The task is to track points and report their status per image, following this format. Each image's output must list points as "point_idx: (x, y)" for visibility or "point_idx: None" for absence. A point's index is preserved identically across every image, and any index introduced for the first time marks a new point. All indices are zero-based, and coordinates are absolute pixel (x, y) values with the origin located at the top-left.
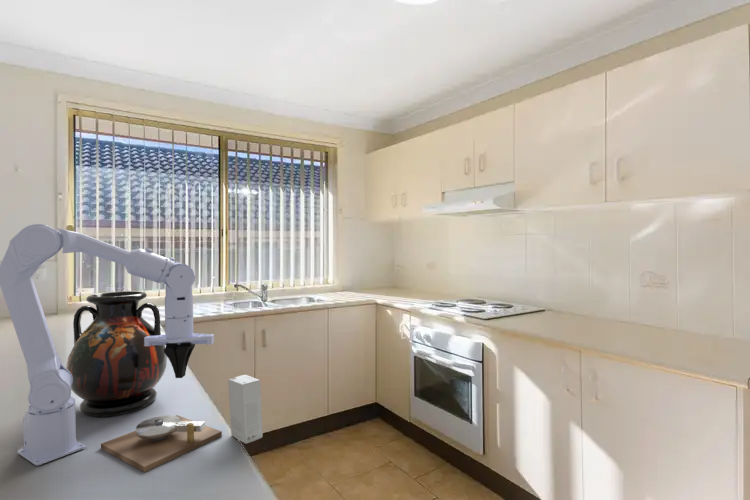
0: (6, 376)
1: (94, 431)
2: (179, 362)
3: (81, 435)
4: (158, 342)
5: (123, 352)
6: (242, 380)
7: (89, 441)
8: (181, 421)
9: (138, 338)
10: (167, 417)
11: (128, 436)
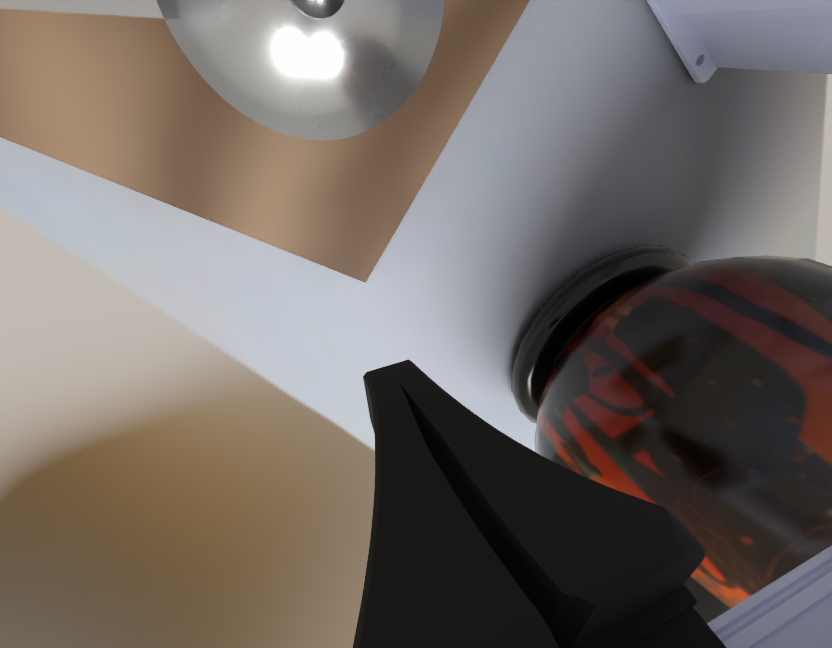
0: None
1: (617, 141)
2: (420, 466)
3: (649, 103)
4: (805, 621)
5: (828, 442)
6: None
7: (613, 39)
8: (149, 14)
9: None
10: (315, 105)
11: (473, 25)
